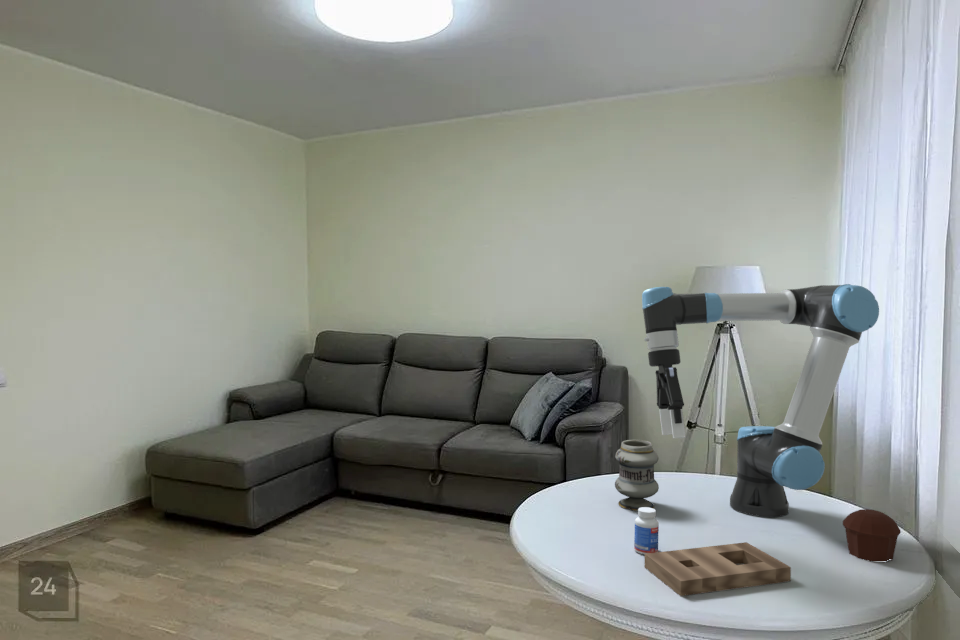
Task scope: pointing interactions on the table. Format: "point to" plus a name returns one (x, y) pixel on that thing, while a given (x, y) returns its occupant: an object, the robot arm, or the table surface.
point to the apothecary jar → (636, 474)
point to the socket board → (716, 568)
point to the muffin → (871, 535)
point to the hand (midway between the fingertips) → (673, 436)
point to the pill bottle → (646, 531)
